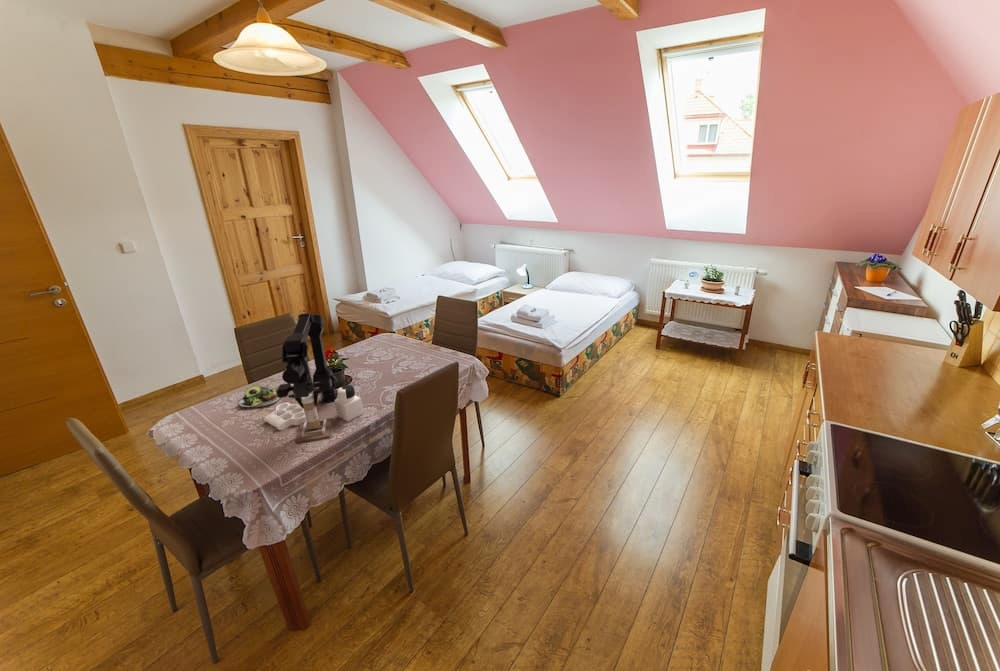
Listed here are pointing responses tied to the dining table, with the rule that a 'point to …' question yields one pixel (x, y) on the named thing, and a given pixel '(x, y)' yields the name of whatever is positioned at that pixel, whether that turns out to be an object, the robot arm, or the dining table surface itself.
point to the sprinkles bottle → (310, 411)
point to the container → (348, 403)
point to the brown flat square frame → (314, 431)
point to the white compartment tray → (286, 416)
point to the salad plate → (258, 397)
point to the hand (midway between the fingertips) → (309, 406)
